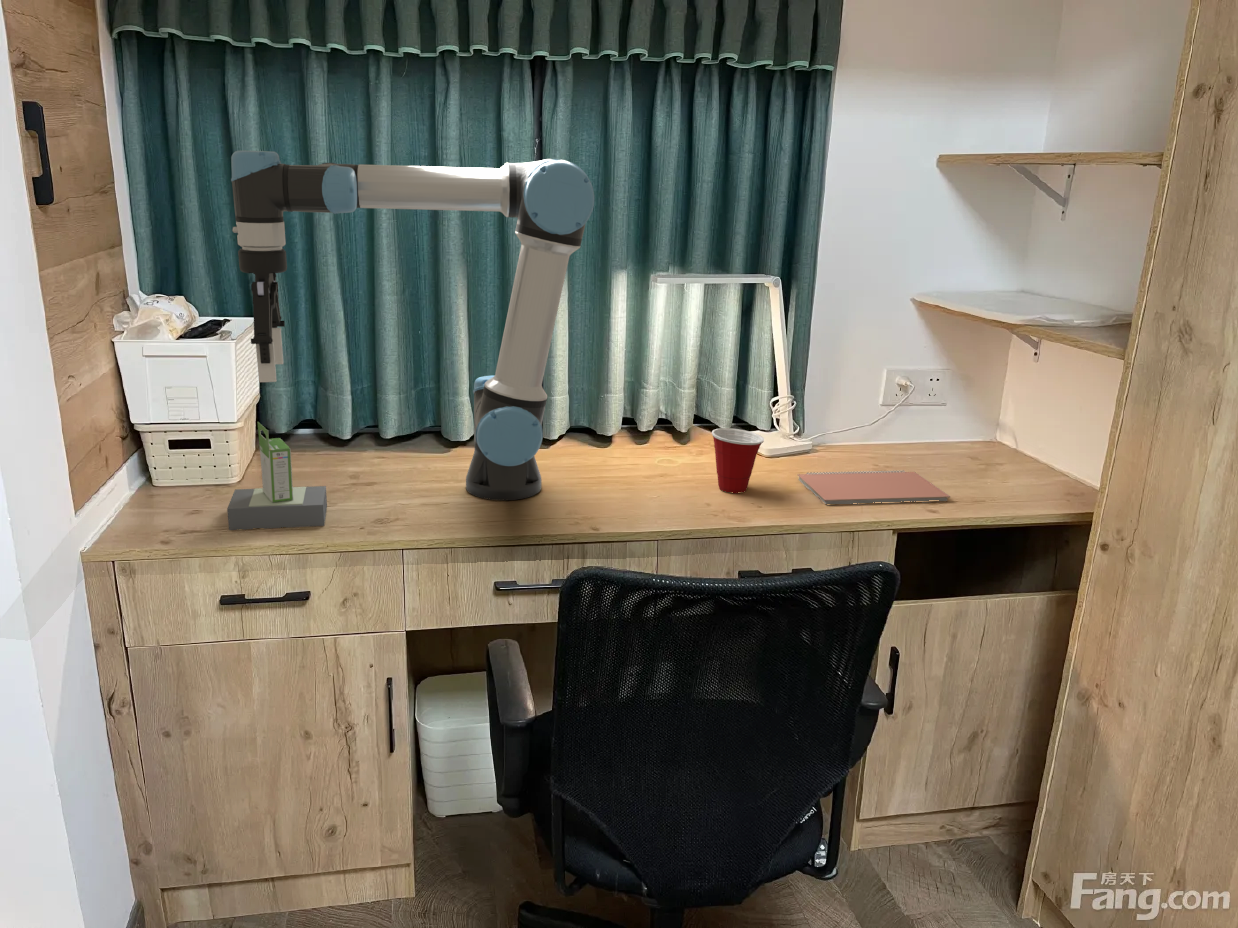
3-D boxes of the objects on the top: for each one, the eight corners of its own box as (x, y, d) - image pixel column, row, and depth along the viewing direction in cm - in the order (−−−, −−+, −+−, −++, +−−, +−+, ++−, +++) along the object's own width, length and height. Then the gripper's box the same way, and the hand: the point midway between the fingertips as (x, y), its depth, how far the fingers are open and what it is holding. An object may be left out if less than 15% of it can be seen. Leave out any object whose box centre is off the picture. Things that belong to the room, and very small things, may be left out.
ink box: (294, 500, 173) (289, 428, 169) (271, 503, 171) (266, 430, 167) (284, 488, 179) (279, 418, 175) (262, 491, 177) (256, 420, 173)
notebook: (911, 477, 215) (912, 468, 214) (949, 504, 199) (950, 495, 199) (794, 480, 210) (795, 471, 209) (824, 507, 194) (825, 498, 194)
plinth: (327, 505, 183) (325, 484, 182) (324, 525, 174) (323, 503, 172) (236, 509, 179) (234, 488, 178) (229, 530, 170) (227, 507, 169)
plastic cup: (769, 495, 199) (775, 438, 195) (723, 500, 195) (727, 443, 191) (743, 478, 208) (748, 424, 204) (698, 483, 204) (702, 428, 200)
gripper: (246, 240, 172) (256, 357, 179) (227, 256, 149) (239, 390, 156) (291, 240, 174) (299, 357, 181) (278, 256, 151) (288, 389, 158)
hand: (271, 372), depth 168 cm, fingers open, 13 cm apart
